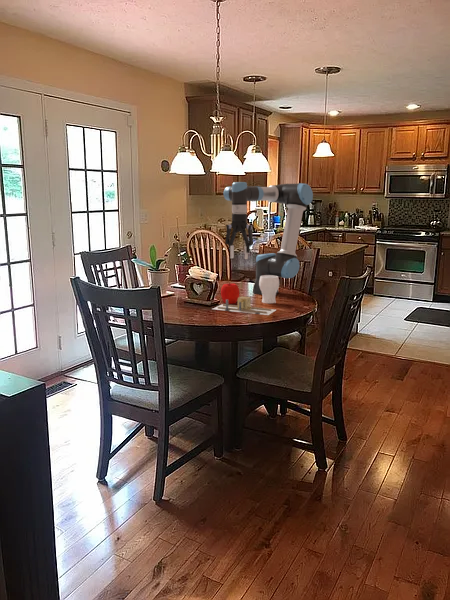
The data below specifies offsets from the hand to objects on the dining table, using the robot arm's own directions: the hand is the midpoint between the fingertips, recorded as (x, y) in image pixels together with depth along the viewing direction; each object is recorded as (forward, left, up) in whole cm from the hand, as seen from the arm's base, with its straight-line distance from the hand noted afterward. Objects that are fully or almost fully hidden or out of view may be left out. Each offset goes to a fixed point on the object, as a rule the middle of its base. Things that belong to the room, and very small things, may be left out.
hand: (239, 258), depth 259 cm
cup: (-10, +13, -25) cm, 30 cm away
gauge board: (+12, +8, -25) cm, 29 cm away
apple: (0, -5, -25) cm, 26 cm away
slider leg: (+14, +8, -24) cm, 28 cm away
